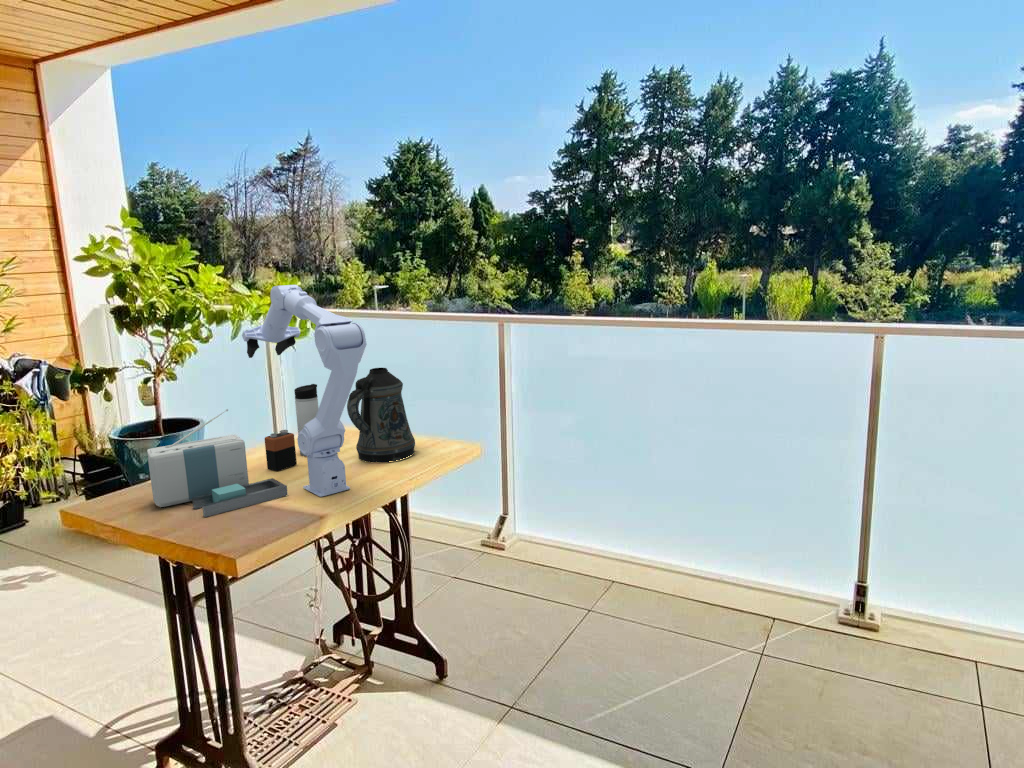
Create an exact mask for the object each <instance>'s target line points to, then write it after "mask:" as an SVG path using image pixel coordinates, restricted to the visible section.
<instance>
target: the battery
mask: <svg viewBox="0 0 1024 768" xmlns="http://www.w3.org/2000/svg"><path fill="white" fill-rule="evenodd" d="M264 449H265V456H266V465H267V466H266V468H267V470H268V471H269V470H270V471H272V472H273V471H274V472H281V471H282V470H286V469H289V468H293V467H295V466H296V465H297V464H298V463H297V452H296V441H295V434H294V433H292V432H289V430H288V429H282V430H280V431H279V432H278V433H276V432H275V433H274V432H273V433H270V435H268V436H265V437H264Z"/></svg>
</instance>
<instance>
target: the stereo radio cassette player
mask: <svg viewBox="0 0 1024 768" xmlns="http://www.w3.org/2000/svg"><path fill="white" fill-rule="evenodd" d="M228 411H229V409H228V408H227V409H225V410H224V411H222V412H221V413H220V414H217V416H215V417H213V418H212V419H209V420H208V421H207V422H205V423H203V424H202V425H200V426H198V427H196V429H194V430H192V431H191V432H190V433H187V434H186V435H185V436H183V437H182V438H180V439H179V440H177V441H175V442H174V443H173V444H169V445H165V446H164V445H163V446H158V447H153V448H152V447H151V448H148V449H147V451H146V453H147V454H146V455H147V463H148V468H149V469H148V470H149V476H150V484H151V493H152V500H153V502H154V504H155V506H157V507H159V508H161V507H164V508H165V507H170V506H174V505H179V504H183V503H188V502H192V498H193V497H197V496H201V495H205V494H209V493H212V489H217V488H221V487H225V486H229V485H233V484H239V485H241V486H242V485H247V484H250V483H249V482H250V481H249V473H248V472H249V471H248V470H249V469H248V463H247V451H246V445H245V441H244V439H242V438H241V437H240V436H238V435H236V434H228V435H222V436H218V437H217V436H216V437H211V438H205V439H200V440H199V439H198V440H192V441H188V442H182V441H184V440H185V439H187V438H188V437H191V436H192V435H193V434H194V433H196V432H197V431H199V430H200V429H202V428H203V427H205V426H208V424H209V423H211V422H213V420H215V419H216V418H218V417H219V416H222V415H223V414H224V413H225V412H228Z"/></svg>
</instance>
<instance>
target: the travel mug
mask: <svg viewBox="0 0 1024 768" xmlns="http://www.w3.org/2000/svg"><path fill="white" fill-rule="evenodd" d="M317 388H318V384H316V383H311V384H305V385H301V386H298V387H296V388H294V389H293V390H294V403H295V405H294V406H295V412H296V416H295V417H296V424H297V425H296V426H297V434H298V435H299V432H300V431H301V430H302V429H303V428H304V425H305V424H307V423H308V422H309V421H311V420H312V419H314V418H315V417H316V415H317V412H318V409H319V399H318V389H317ZM298 435H297V436H298ZM299 454H300V456H303V457H306V456H305V455H304V454H303V453H302V452H301V451H300V450H299Z"/></svg>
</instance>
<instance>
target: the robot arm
mask: <svg viewBox="0 0 1024 768" xmlns="http://www.w3.org/2000/svg"><path fill="white" fill-rule="evenodd" d="M270 301H271V304H270V307H269V309H268V311H267V314H266V317H265V318H264V321H263V323H262V324H261V325H258V326H256V327H255V326H254V327H252V328H251V329H245V330H243V331H242V334H241V338H242V339H243V341H244V342H246V345H247V346H246V353H247V355H248V358H250V359H252V358H253V357H254V355H255V352H256V351H257V350H258V349H260V345H259V341H262V342H267V343H272V344H276V345H275V348H274V350H275V353H276V355H277V356H281V354H283V353H284V352H285V351H286V350H287V349H289V348H290V347H293V346H295V344H296V343H297V342H296V339H295V338H299V337H300V335H301V330H300V329H299V327H298V326H296V327H295V326H289V325H290V323H291V320H292V319H293V316H295V317H296V318H298V319H300V320H304V321H305V320H309V321H311V323H313V324H315V328H314V335H313V336H314V344H315V346H316V349H317V352H318V354H319V357H320V359H321V362H322V364H323V367H324V368H325V369H328V370H329V371H331V372H330V374H329V377H328V380H327V383H326V387H325V388H324V391H323V395H322V398H321V401H320V403H319V405H318V407H319V409H318V412H317V415H316V417H315V418H314V419H312V420H311V421H309V422H308V423H307V424H305V425H304V428H303V429H302V430H301V431H300V432H299V435H297V447H298V449H299V452H300V451H301V452H302V453H303V454H304V455H305V456H304V457H306V459H307V470H308V471H307V472H308V473H307V474H308V481H309V484H306V485H303V486H302V487H303V489H304V490H307V491H308V492H311V493H312V494H314V495H316V496H318V497H320V498H322V497H325V496H330V495H333V494H336V493H337V494H338V493H340V492H344V491H347V490H350V489H351V486H348V485H347V475H346V466H345V464H344V462H343V460H341V458H339V454H338V453H340V452H341V448H342V447H343V446H344V442H345V433H346V429H345V426H344V424H343V422H342V421H341V417H342V415H343V412H344V408H345V407H346V405H347V402H348V399H349V395H350V393H351V392H352V391H351V390H352V389H353V388H352V387H353V384H354V382H355V380H356V377H357V373H358V368H359V364H360V363H361V361H362V358H363V355H364V353H365V351H366V350H365V349H366V347H367V338H366V333H365V331H364V328H363V327H362V326H361V324H360V323H357V322H354V321H353V319H352V318H349V317H346V316H343V315H340V314H337V313H333V312H331V311H330V310H327V309H325V308H324V307H323V308H322V307H320V306H319V305H318V304H317V301H316V300H315V298H314V297H311V296H310V295H308V292H306V291H303V289H302V287H300V286H299V285H297V284H287V285H275V286H272V288H271V289H270Z"/></svg>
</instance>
